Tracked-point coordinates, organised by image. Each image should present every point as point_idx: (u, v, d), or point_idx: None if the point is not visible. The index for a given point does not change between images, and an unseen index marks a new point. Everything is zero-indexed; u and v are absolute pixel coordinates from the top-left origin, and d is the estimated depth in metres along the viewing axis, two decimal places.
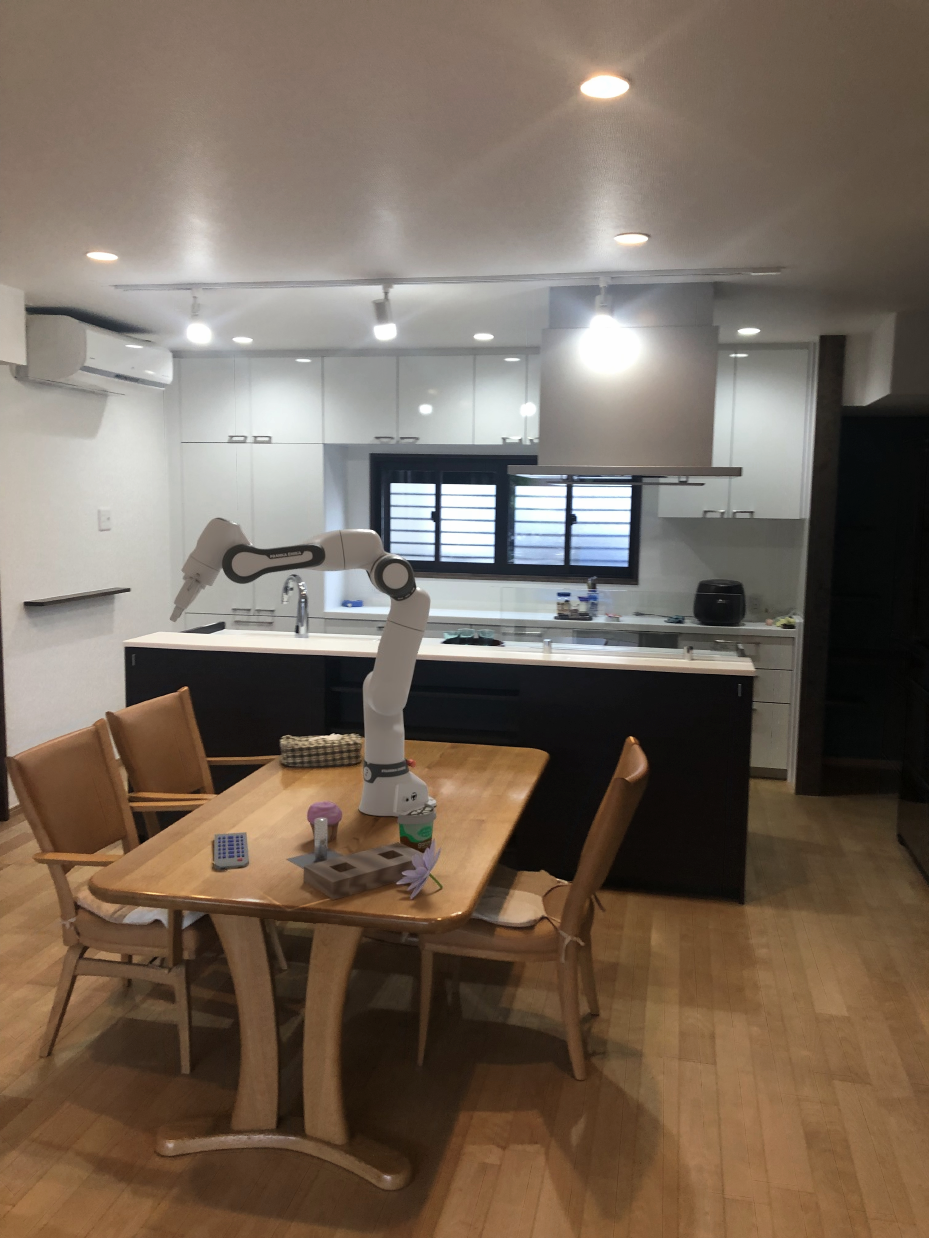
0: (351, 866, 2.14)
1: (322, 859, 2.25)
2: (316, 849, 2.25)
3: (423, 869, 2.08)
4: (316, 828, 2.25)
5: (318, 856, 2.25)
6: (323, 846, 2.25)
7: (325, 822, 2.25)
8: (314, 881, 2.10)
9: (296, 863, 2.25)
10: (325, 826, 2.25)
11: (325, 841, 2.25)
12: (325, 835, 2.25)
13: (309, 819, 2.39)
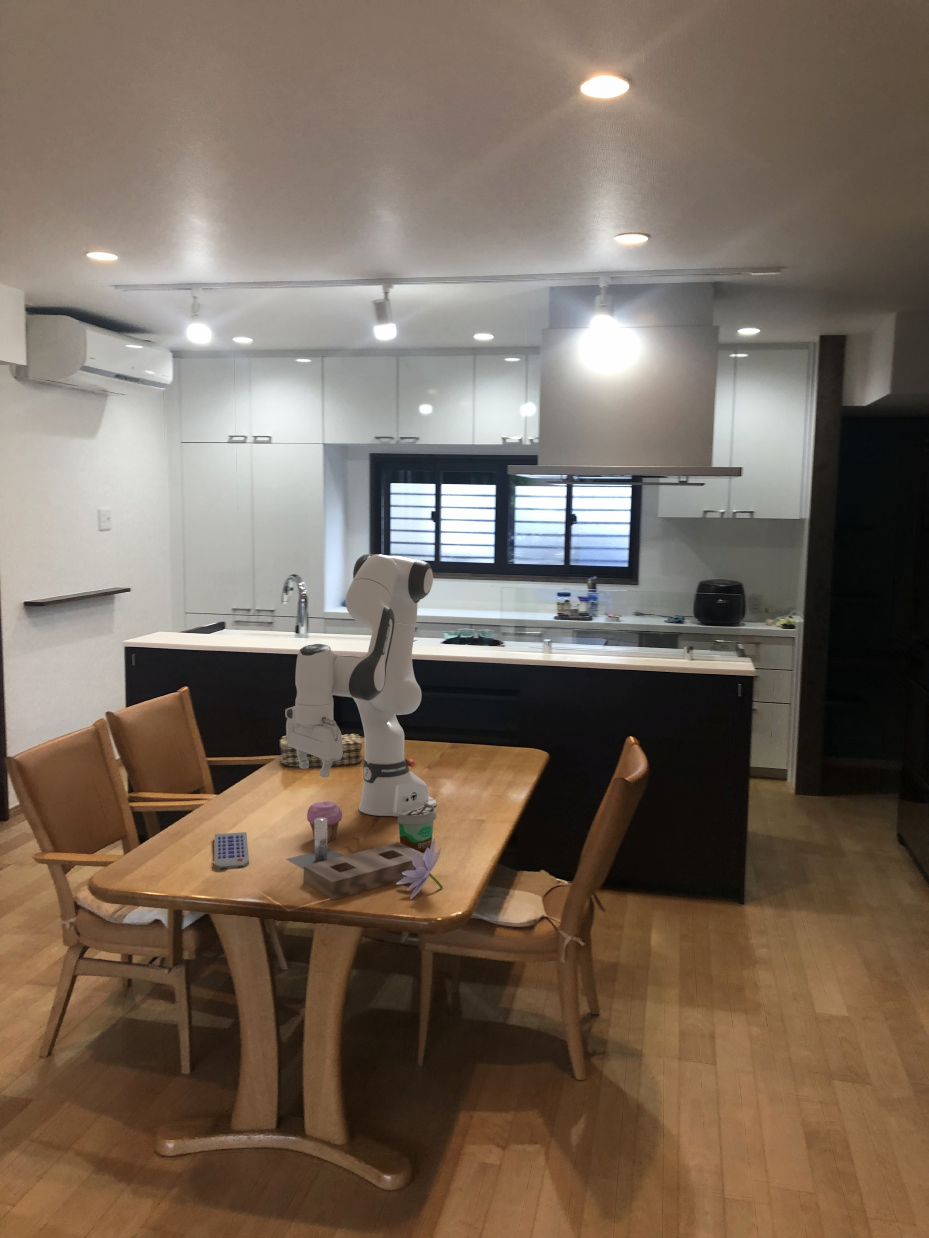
0: (351, 866, 2.14)
1: (322, 859, 2.25)
2: (316, 849, 2.25)
3: (423, 869, 2.08)
4: (316, 828, 2.25)
5: (318, 856, 2.25)
6: (323, 846, 2.25)
7: (325, 822, 2.25)
8: (314, 881, 2.10)
9: (296, 863, 2.25)
10: (325, 826, 2.25)
11: (325, 841, 2.25)
12: (325, 835, 2.25)
13: (309, 819, 2.39)
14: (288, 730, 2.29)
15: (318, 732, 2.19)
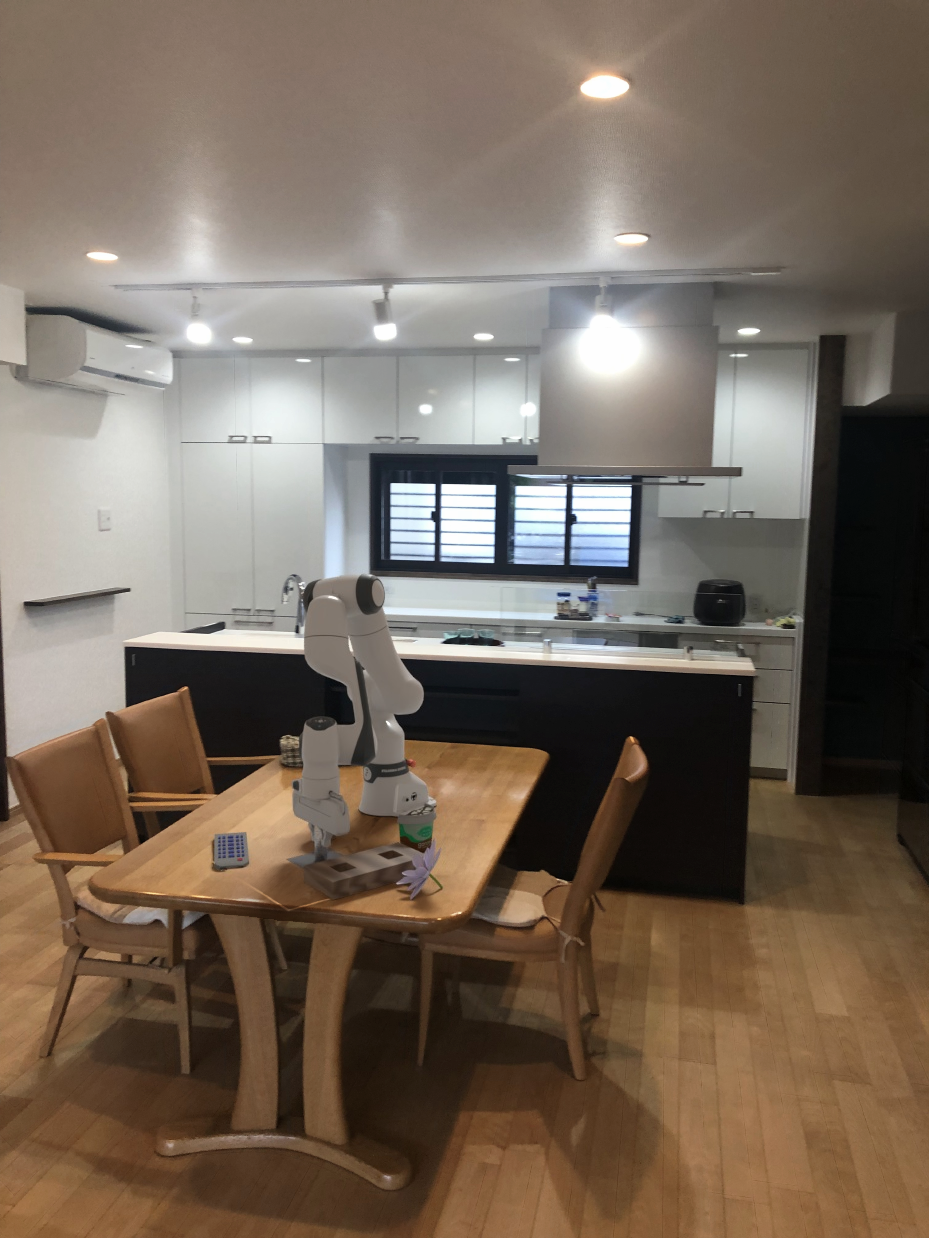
0: (351, 866, 2.14)
1: (322, 859, 2.25)
2: (316, 849, 2.25)
3: (423, 869, 2.08)
4: (316, 828, 2.25)
5: (318, 856, 2.25)
6: (323, 846, 2.25)
7: None
8: (314, 881, 2.10)
9: (296, 863, 2.25)
10: None
11: None
12: None
13: None
14: (294, 801, 2.31)
15: (325, 806, 2.20)
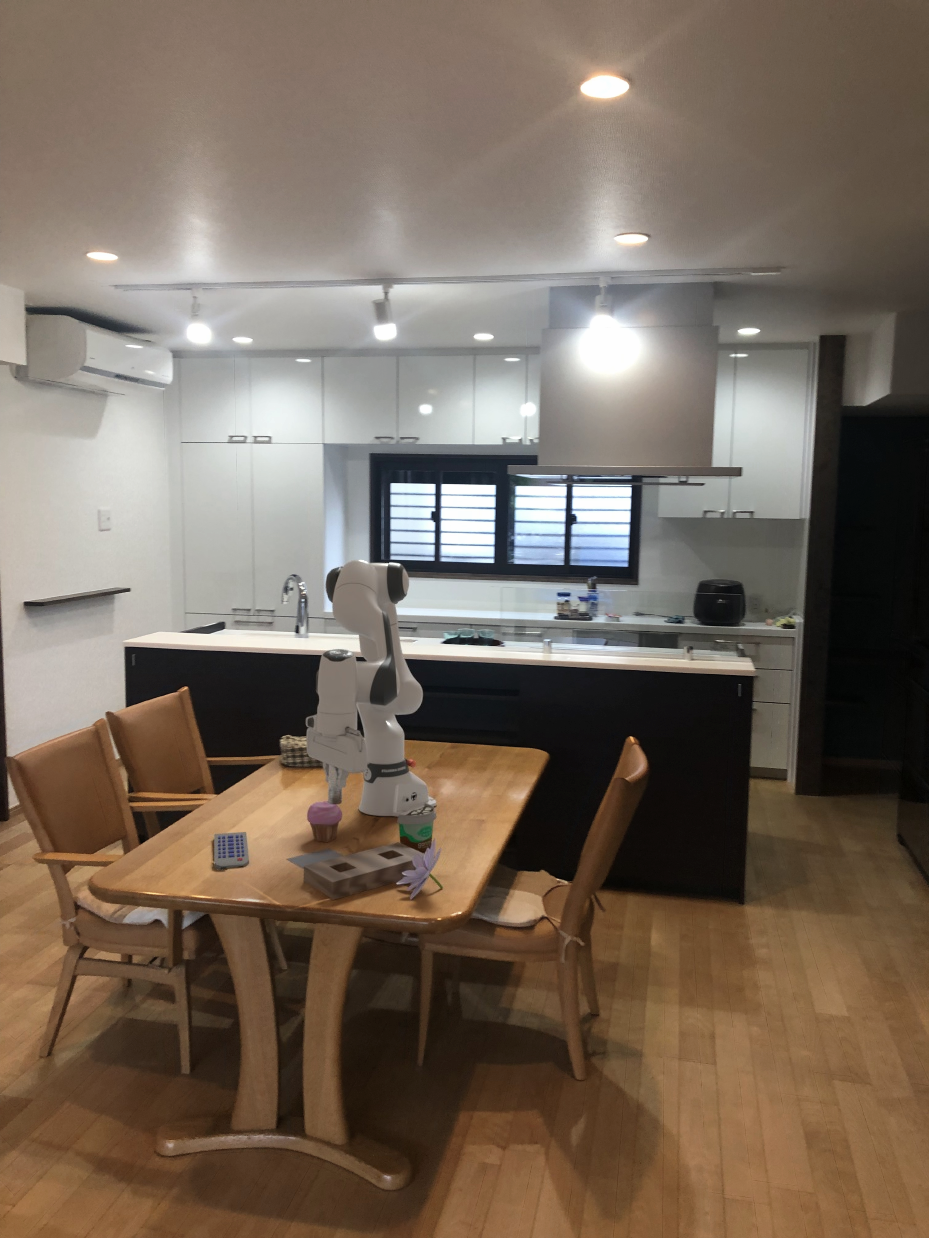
0: (351, 866, 2.14)
1: (336, 801, 2.12)
2: (330, 790, 2.12)
3: (423, 869, 2.08)
4: (330, 767, 2.11)
5: (332, 798, 2.12)
6: (338, 787, 2.12)
7: None
8: (314, 881, 2.10)
9: (296, 863, 2.25)
10: None
11: None
12: None
13: (309, 819, 2.39)
14: (308, 740, 2.17)
15: (341, 742, 2.07)
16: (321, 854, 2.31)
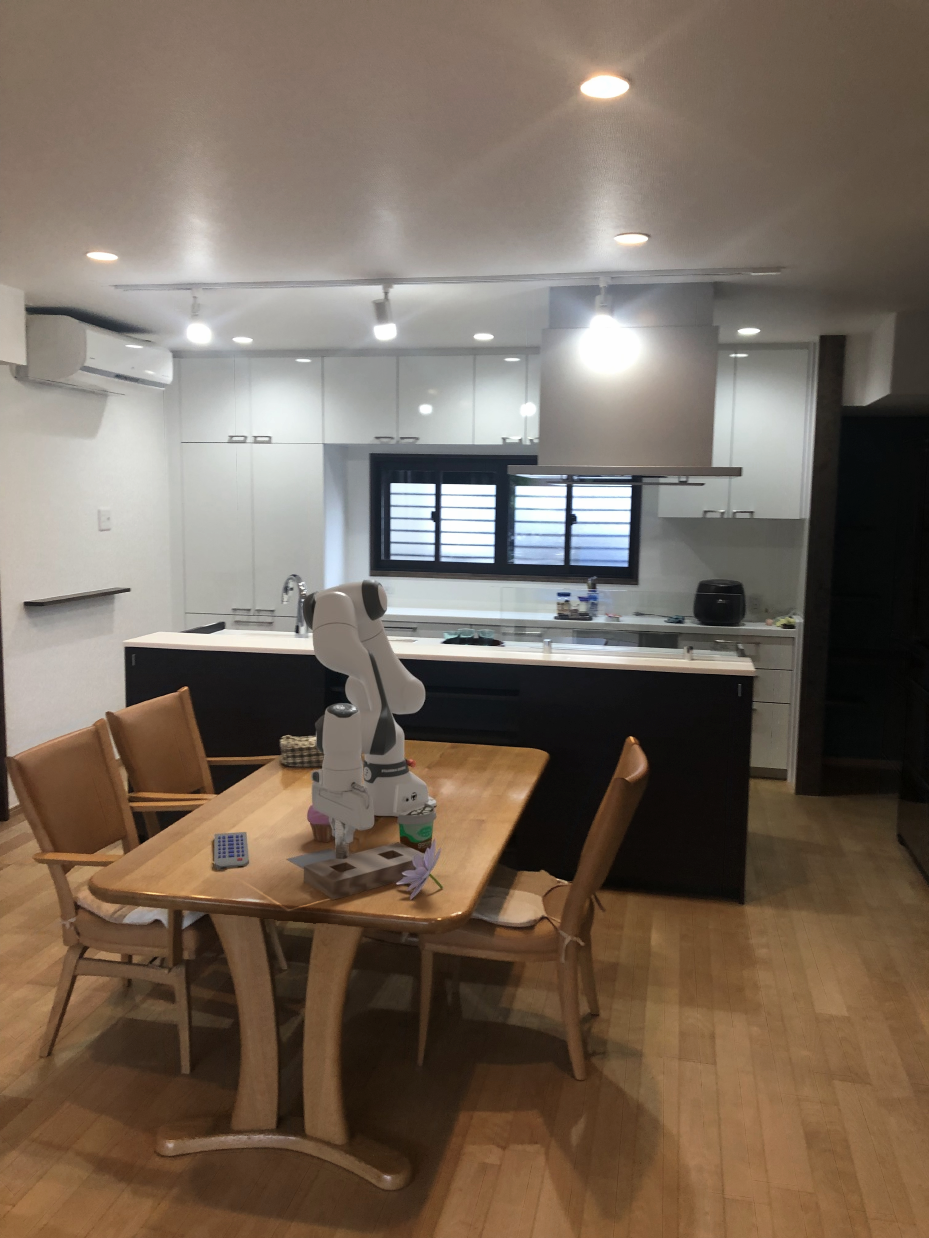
0: (351, 866, 2.14)
1: (343, 855, 2.11)
2: (337, 845, 2.11)
3: (423, 869, 2.08)
4: (337, 822, 2.10)
5: (339, 852, 2.11)
6: None
7: None
8: (314, 881, 2.10)
9: (296, 863, 2.25)
10: None
11: None
12: None
13: (309, 819, 2.39)
14: (314, 793, 2.16)
15: (347, 798, 2.06)
16: (321, 854, 2.31)
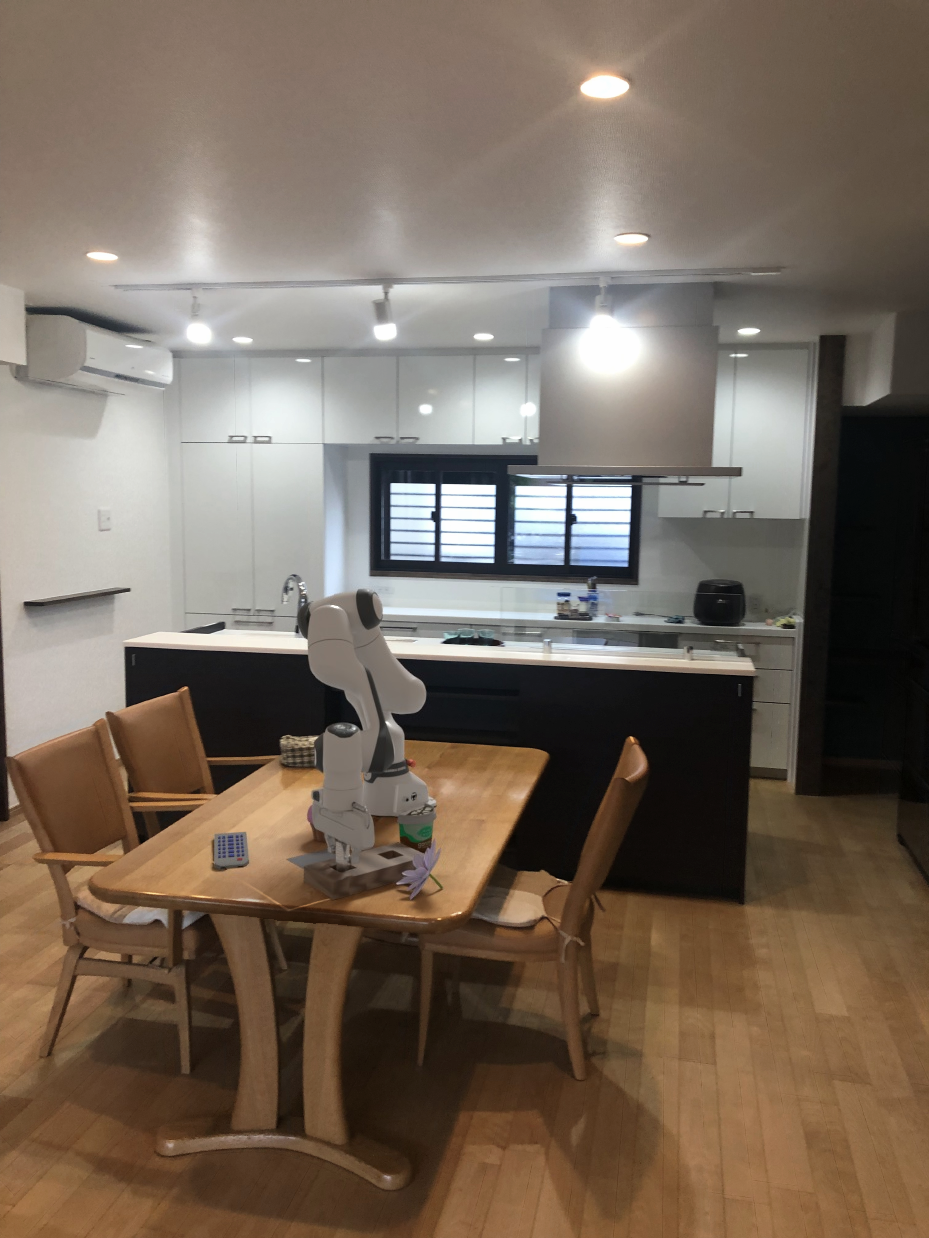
0: (351, 866, 2.14)
1: None
2: None
3: (423, 869, 2.08)
4: (337, 850, 2.11)
5: None
6: (345, 869, 2.12)
7: (347, 844, 2.11)
8: (314, 881, 2.10)
9: (296, 863, 2.25)
10: (347, 848, 2.11)
11: (347, 864, 2.12)
12: (347, 858, 2.12)
13: (309, 819, 2.39)
14: (314, 812, 2.17)
15: (348, 818, 2.07)
16: (321, 854, 2.31)
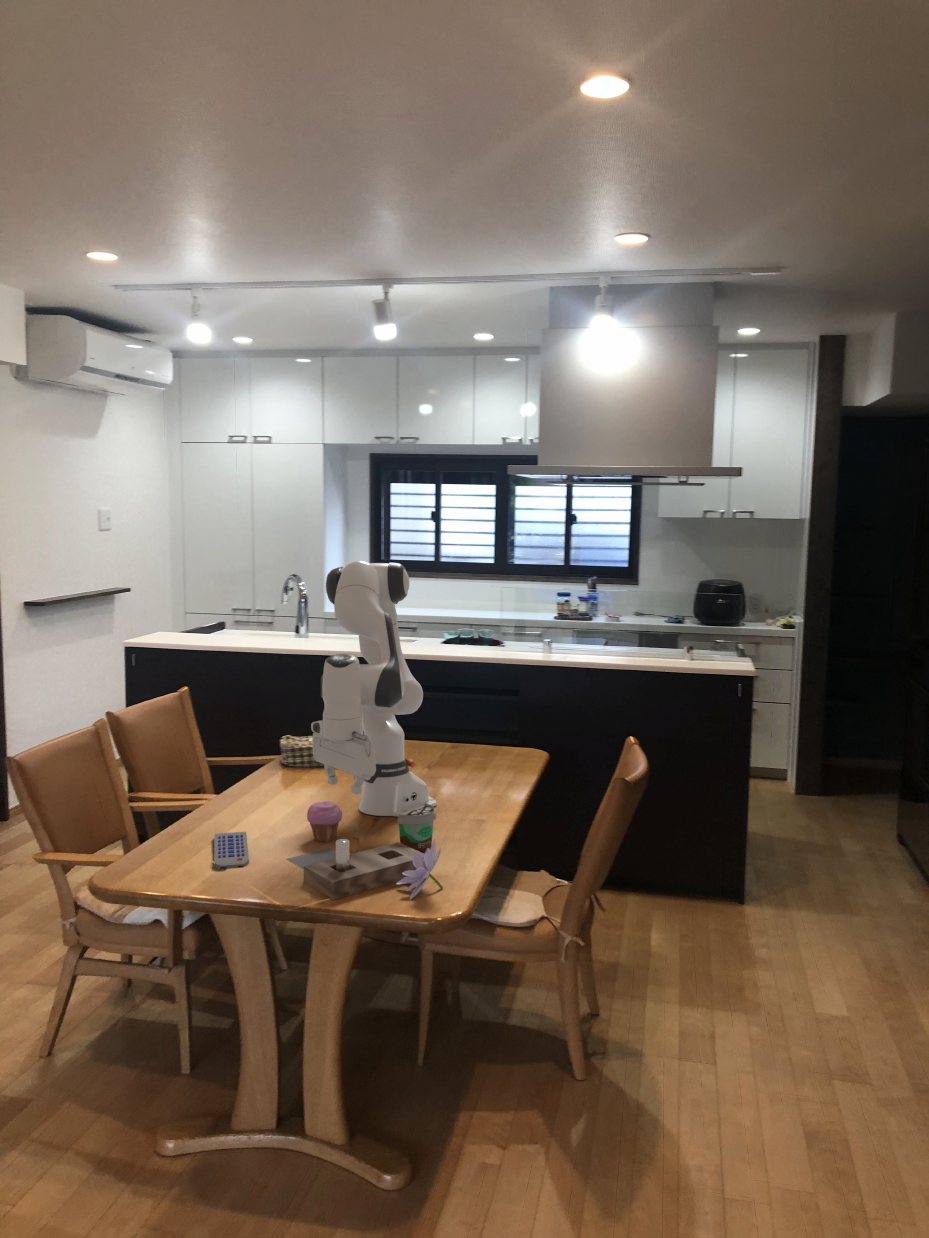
0: (351, 866, 2.14)
1: None
2: None
3: (423, 869, 2.08)
4: (337, 850, 2.11)
5: None
6: (345, 869, 2.12)
7: (347, 844, 2.11)
8: (314, 881, 2.10)
9: (296, 863, 2.25)
10: (347, 848, 2.11)
11: (347, 864, 2.12)
12: (347, 858, 2.12)
13: (309, 819, 2.39)
14: (314, 744, 2.18)
15: (349, 747, 2.08)
16: (321, 854, 2.31)
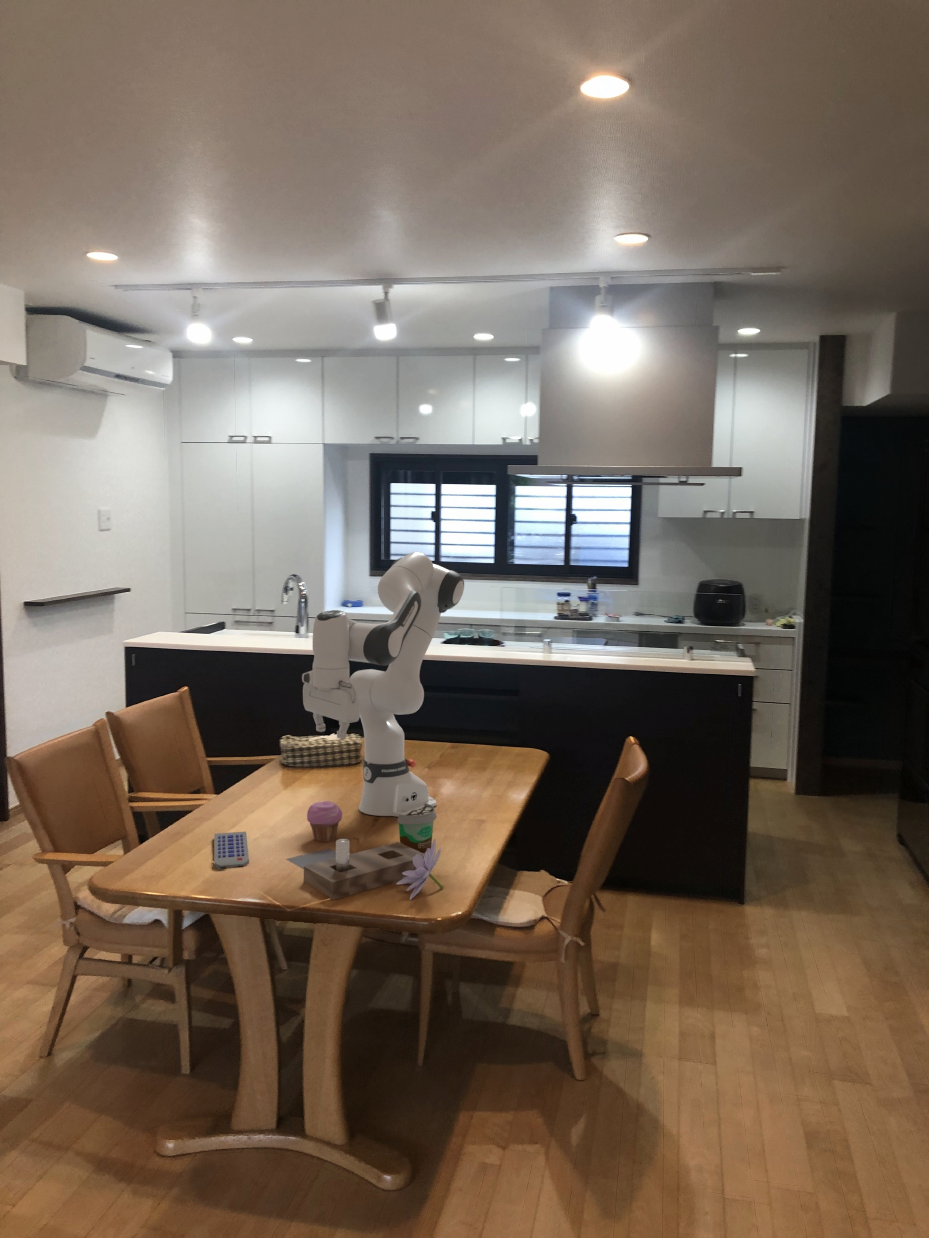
0: (351, 866, 2.14)
1: None
2: None
3: (423, 869, 2.08)
4: (337, 850, 2.11)
5: None
6: (345, 869, 2.12)
7: (347, 844, 2.11)
8: (314, 881, 2.10)
9: (296, 863, 2.25)
10: (347, 848, 2.11)
11: (347, 864, 2.12)
12: (347, 858, 2.12)
13: (309, 819, 2.39)
14: (305, 694, 2.36)
15: (335, 695, 2.25)
16: (321, 854, 2.31)
